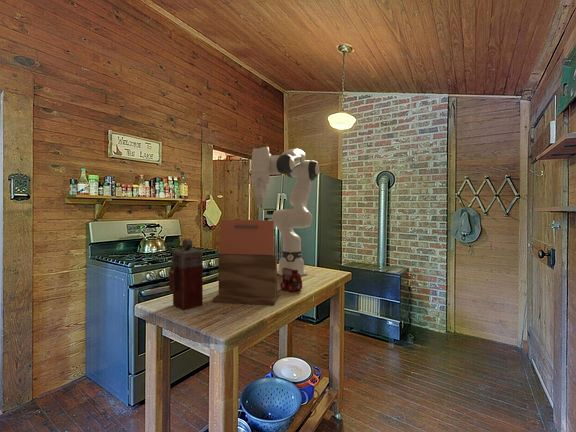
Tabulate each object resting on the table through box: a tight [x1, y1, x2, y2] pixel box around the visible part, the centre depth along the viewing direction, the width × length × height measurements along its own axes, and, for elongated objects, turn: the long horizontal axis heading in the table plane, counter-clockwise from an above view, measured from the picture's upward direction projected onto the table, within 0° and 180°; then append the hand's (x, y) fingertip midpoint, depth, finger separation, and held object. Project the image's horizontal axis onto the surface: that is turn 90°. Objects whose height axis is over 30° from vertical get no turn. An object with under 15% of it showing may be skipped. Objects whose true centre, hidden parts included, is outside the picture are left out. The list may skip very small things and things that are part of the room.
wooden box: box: [212, 252, 280, 306], centre depth 137 cm, size 14×27×20 cm, turn 82°
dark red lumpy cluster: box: [279, 268, 303, 293], centre depth 152 cm, size 7×12×10 cm, turn 47°
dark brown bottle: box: [168, 238, 204, 311], centre depth 127 cm, size 9×11×28 cm
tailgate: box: [219, 219, 275, 255], centre depth 136 cm, size 2×24×15 cm, turn 82°
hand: (259, 207), depth 149 cm, fingers open, 8 cm apart
